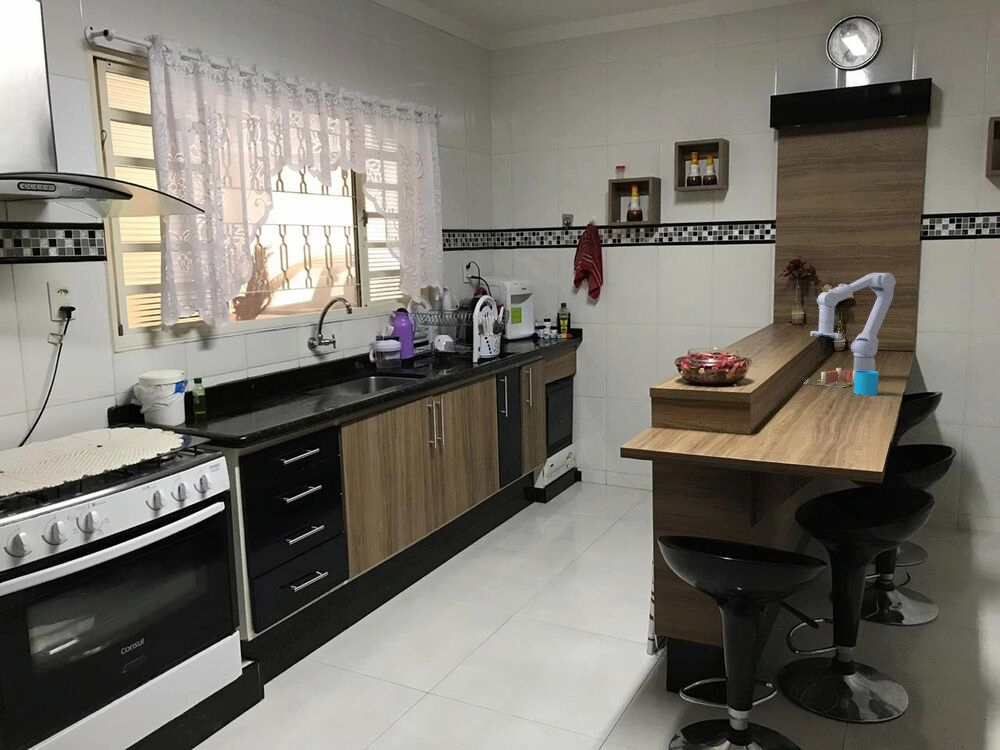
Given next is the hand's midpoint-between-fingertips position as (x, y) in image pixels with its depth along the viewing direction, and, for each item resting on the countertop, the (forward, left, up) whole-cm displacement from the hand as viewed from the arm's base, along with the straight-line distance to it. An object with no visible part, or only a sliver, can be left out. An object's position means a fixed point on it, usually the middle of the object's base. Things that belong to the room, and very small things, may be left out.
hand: (824, 354), depth 335 cm
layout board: (+5, +5, -10) cm, 12 cm away
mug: (+21, +25, -11) cm, 34 cm away
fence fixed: (+5, +11, -10) cm, 16 cm away
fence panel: (+12, +7, -10) cm, 17 cm away
